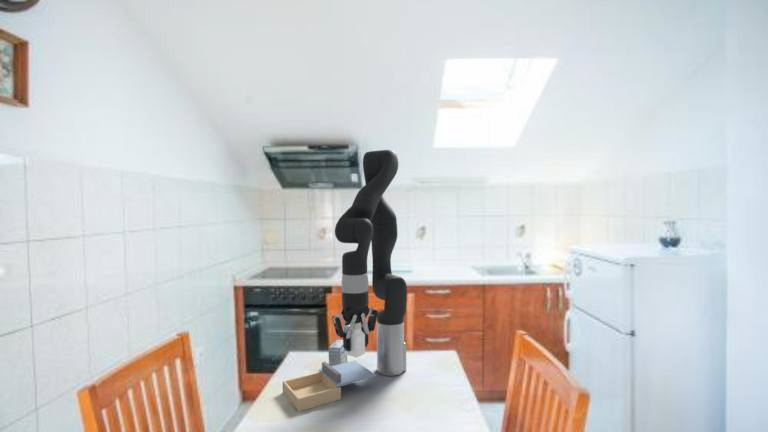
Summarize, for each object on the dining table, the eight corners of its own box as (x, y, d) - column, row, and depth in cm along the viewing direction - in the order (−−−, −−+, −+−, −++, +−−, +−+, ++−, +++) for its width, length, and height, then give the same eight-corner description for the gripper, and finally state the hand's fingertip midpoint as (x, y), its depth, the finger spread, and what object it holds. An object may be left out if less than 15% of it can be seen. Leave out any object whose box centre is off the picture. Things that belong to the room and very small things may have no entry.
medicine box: (341, 373, 140) (340, 348, 140) (328, 372, 141) (328, 347, 141) (347, 363, 148) (347, 340, 148) (335, 362, 149) (335, 339, 148)
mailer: (322, 382, 133) (322, 371, 133) (341, 398, 122) (340, 387, 122) (282, 392, 126) (282, 381, 126) (298, 411, 115) (298, 399, 115)
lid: (354, 362, 140) (354, 353, 139) (375, 376, 128) (375, 366, 128) (318, 371, 132) (318, 361, 132) (337, 387, 121) (337, 376, 121)
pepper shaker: (355, 351, 120) (354, 318, 119) (366, 354, 117) (365, 321, 117) (346, 355, 116) (345, 322, 116) (357, 358, 114) (356, 324, 114)
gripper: (369, 283, 123) (370, 339, 124) (326, 290, 115) (327, 349, 116) (383, 288, 117) (384, 347, 118) (338, 295, 109) (339, 358, 110)
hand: (356, 348), depth 117 cm, fingers closed on pepper shaker, 4 cm apart
